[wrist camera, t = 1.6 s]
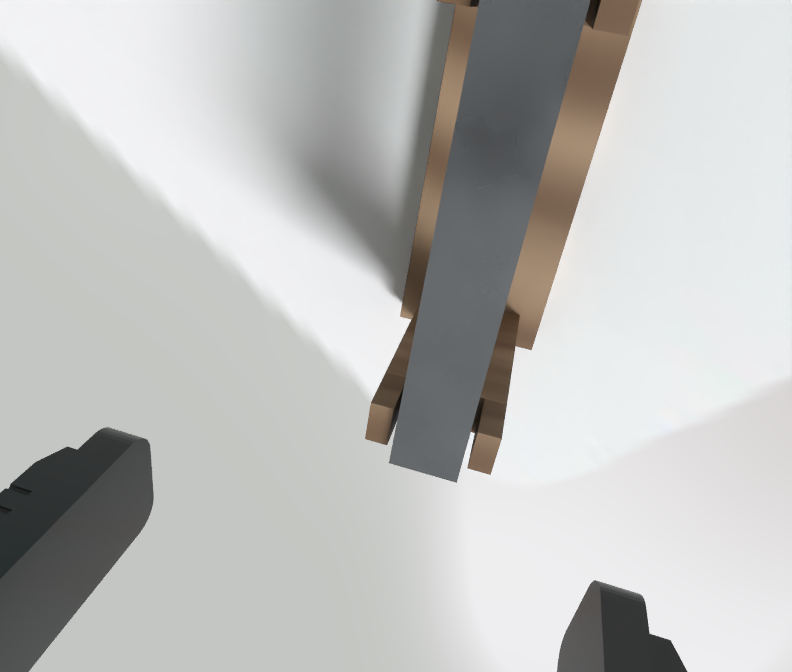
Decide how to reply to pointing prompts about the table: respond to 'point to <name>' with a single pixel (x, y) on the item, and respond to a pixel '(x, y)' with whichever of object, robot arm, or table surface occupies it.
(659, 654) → the robot arm
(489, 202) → the steel bar
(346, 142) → the table surface
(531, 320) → the walnut stand
